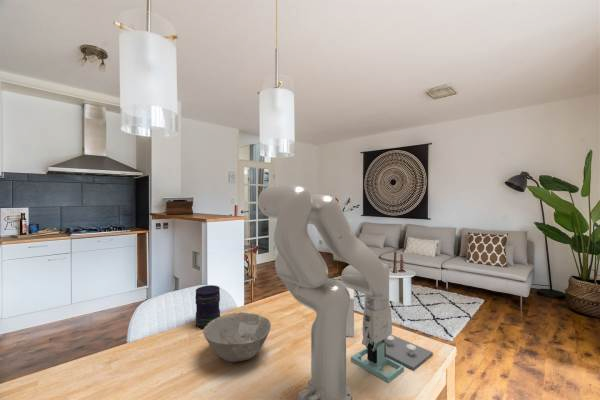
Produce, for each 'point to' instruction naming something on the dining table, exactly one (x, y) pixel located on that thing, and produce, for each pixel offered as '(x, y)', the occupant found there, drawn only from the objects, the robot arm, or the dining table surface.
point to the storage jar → (207, 305)
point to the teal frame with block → (378, 363)
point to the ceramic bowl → (237, 335)
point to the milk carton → (350, 314)
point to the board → (406, 352)
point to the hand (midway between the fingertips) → (376, 357)
